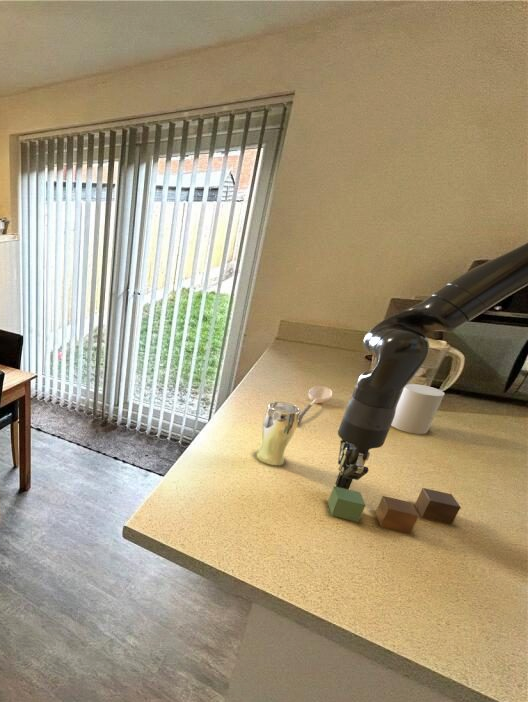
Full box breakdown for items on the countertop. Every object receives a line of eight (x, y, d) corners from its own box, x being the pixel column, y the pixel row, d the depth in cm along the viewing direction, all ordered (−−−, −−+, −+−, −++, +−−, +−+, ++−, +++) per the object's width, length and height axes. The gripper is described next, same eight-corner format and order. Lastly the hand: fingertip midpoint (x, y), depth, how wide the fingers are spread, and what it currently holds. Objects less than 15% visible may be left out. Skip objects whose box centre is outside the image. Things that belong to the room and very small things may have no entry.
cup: (433, 435, 110) (451, 397, 105) (397, 431, 113) (413, 393, 108) (418, 422, 117) (434, 386, 112) (384, 418, 120) (398, 382, 115)
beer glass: (271, 450, 105) (285, 399, 99) (292, 464, 99) (308, 412, 93) (248, 452, 104) (261, 402, 98) (268, 468, 98) (283, 415, 92)
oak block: (403, 519, 81) (411, 502, 79) (410, 533, 77) (419, 516, 75) (375, 512, 83) (382, 495, 81) (380, 526, 79) (388, 508, 77)
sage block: (353, 509, 84) (360, 492, 82) (358, 522, 80) (365, 505, 78) (327, 502, 86) (333, 485, 84) (331, 515, 82) (337, 498, 80)
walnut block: (442, 511, 83) (451, 494, 81) (451, 524, 79) (461, 507, 77) (414, 504, 85) (422, 487, 83) (421, 517, 81) (430, 500, 79)
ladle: (333, 397, 132) (337, 385, 129) (303, 438, 117) (307, 426, 115) (312, 391, 136) (315, 379, 134) (280, 430, 121) (283, 418, 119)
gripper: (400, 439, 74) (370, 511, 81) (381, 410, 85) (355, 476, 92) (350, 430, 77) (325, 500, 84) (338, 404, 88) (316, 467, 95)
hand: (341, 487), depth 88 cm, fingers closed
